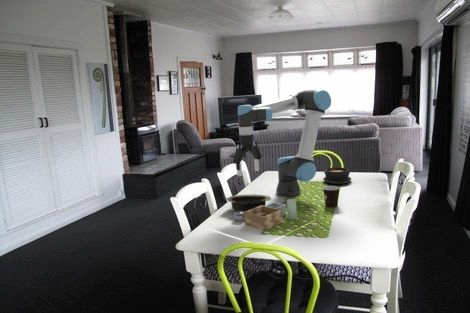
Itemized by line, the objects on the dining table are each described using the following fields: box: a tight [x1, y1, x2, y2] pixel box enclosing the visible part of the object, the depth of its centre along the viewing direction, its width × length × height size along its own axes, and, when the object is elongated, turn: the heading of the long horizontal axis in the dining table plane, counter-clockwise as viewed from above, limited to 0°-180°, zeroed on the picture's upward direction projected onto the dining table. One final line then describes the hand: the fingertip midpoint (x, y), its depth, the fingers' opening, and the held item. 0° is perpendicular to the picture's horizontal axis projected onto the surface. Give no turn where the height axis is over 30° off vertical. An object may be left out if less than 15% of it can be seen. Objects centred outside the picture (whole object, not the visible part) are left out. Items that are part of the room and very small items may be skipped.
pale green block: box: [286, 198, 298, 220], centre depth 188 cm, size 4×4×10 cm
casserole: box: [322, 167, 352, 185], centre depth 256 cm, size 25×19×8 cm
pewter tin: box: [233, 210, 246, 223], centre depth 190 cm, size 6×6×5 cm
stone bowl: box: [225, 193, 272, 212], centre depth 207 cm, size 25×25×9 cm
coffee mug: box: [322, 185, 340, 209], centre depth 207 cm, size 12×9×10 cm
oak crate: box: [244, 205, 284, 231], centre depth 183 cm, size 13×13×7 cm
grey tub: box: [265, 201, 287, 217], centre depth 194 cm, size 8×8×6 cm
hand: (248, 173), depth 204 cm, fingers open, 13 cm apart
